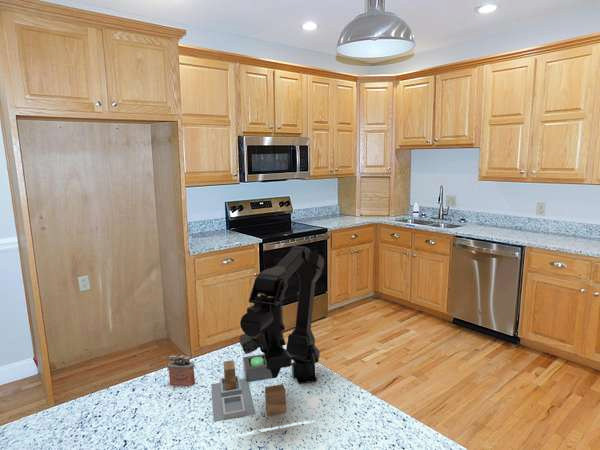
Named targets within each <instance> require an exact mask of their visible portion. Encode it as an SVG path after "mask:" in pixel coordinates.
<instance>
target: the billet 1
mask: <svg viewBox="0 0 600 450" xmlns="http://www.w3.org/2000/svg"><path fill="white" fill-rule="evenodd" d="M222 363H223V374H224V375H223V376H224V377H223V378H225V389H226V391H228V390H234V389H236V376H237V375H236V367H235V361H234V360H227V361H223V362H222Z"/></svg>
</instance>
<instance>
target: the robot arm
mask: <svg viewBox="0 0 600 450" xmlns="http://www.w3.org/2000/svg"><path fill="white" fill-rule="evenodd" d="M324 265H325V260H324V258H323V256H322V255H321V254H320V253H318V252H315V251H313V250H311V249H310V248H309V247H307V246H297V245H294V246H292V247H291V248H290V251H289V252H288V253H287V254H286V255H285V256H284V257H282V259H281V260H280V261H279V262H278V263H277V264H276V265H275V266H273V267H270V268H266V269H263V270H261V272H260V273H258V274H257V275H256V278H255V279H254V282H253V285H252V289H251V293H250V295H249V299H248V303H249V304H253V305H251V306H249V307H247V308H246V313H245V314H243V315H242V317H241V319H240V322H239V323H240V328H241V330H242V332H243V334H241V335H240V336H239V338H238V339H239V344H240V346H241V348H242V351H243V353H244V355H249V354H251V353H253V352H255V351H257V350H258V349H260V351H261V352H262V354H265V355H264V356H263V359H264V361H265V365H266V368H267V369H269V370H270V371H271V374H272V378H271V379H276V378H278V376H279V373H280V371H281V370H282V369H283V368H288V367H291V375H292V377H293V379H296V381H297V383H298V384H304V383H311V382H316V381H318V378H317V376H316V364H317V363H319V360H320V359H319V358H320V354H321V353H320V352H321V351H320V349H318V347H317V346H316V337H315V335H314V333H313V332H312V330H311V329H312V322H313V321H312V320H313V311H314V301H315V300H314V299H315V293H316V292H315V291H316V290H315V289H316V283H317V281H318V280H319V278H320V277H321V276H322V273H323V269H324V267H325V266H324ZM294 273H296V275H297V277H298V280H299V290H298V298H297V308H296V317H295V318H296V319H295V328H294V329H293V331H292V332H291V333H289V334H288V336H287V343H286V340H285V338H284V331H285V329H286V327H285V324H284V315H283V301H284V300H285V299H286V296H285V293H286V291H287V289H288V287H289V286H288V281H289V279H290V278H291V277H292V276H293V275H294ZM266 296H267V297H266ZM284 346H286V347H285V348H284Z"/></svg>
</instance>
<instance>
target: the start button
mask: <svg viewBox="0 0 600 450" xmlns="http://www.w3.org/2000/svg"><path fill="white" fill-rule="evenodd" d="M258 365H264V360H263V358H262V357H254V358H252V359H251V366H258Z"/></svg>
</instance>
